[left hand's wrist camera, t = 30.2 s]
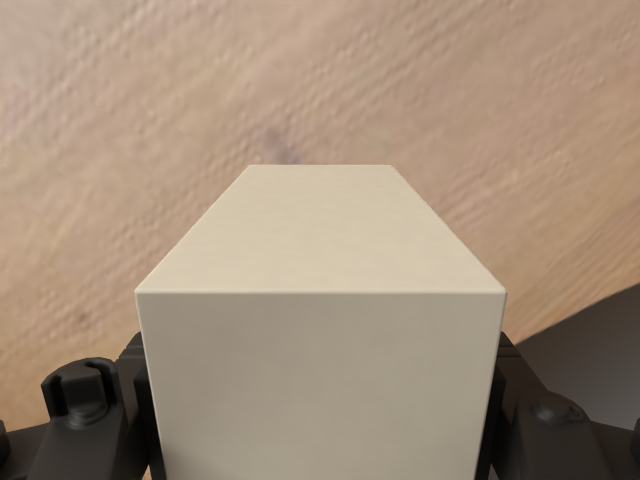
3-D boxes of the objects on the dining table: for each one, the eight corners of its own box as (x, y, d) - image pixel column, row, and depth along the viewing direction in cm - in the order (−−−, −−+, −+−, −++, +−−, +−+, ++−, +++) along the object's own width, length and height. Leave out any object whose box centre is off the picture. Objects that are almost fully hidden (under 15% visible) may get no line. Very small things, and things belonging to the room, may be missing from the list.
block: (382, 327, 19) (454, 604, 9) (258, 327, 19) (186, 603, 9) (392, 164, 17) (509, 290, 6) (248, 164, 17) (131, 290, 6)
